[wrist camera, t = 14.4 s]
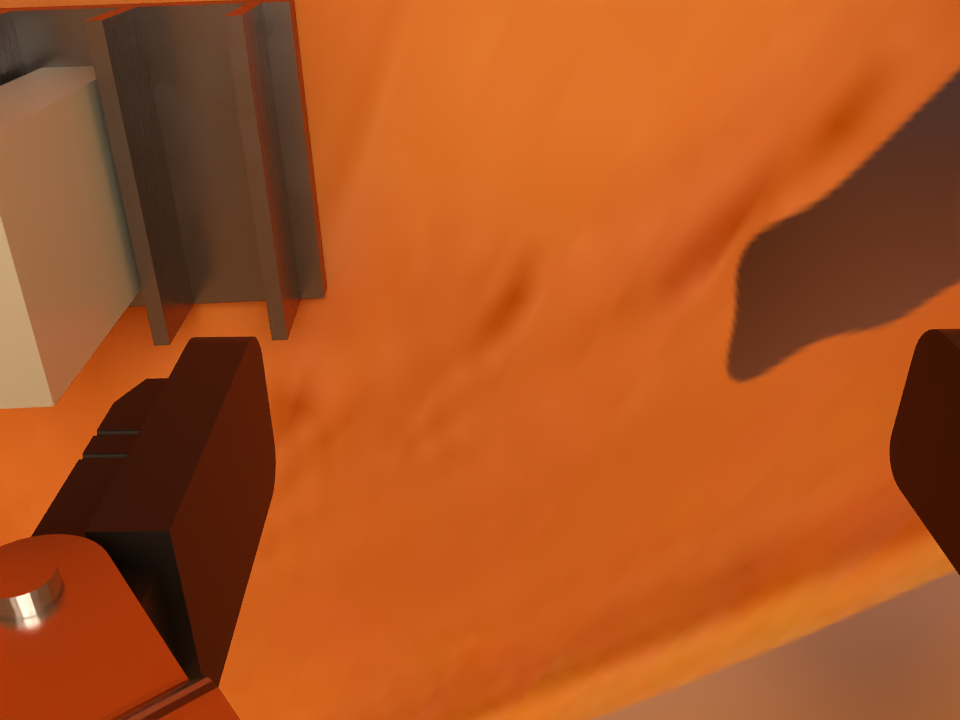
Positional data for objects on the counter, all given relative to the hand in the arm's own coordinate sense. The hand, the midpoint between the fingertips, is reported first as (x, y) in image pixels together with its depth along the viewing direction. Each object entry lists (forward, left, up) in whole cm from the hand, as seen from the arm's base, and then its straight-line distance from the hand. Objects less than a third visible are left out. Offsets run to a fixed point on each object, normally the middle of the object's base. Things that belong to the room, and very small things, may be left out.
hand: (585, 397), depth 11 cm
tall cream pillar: (+4, -15, -27) cm, 31 cm away
